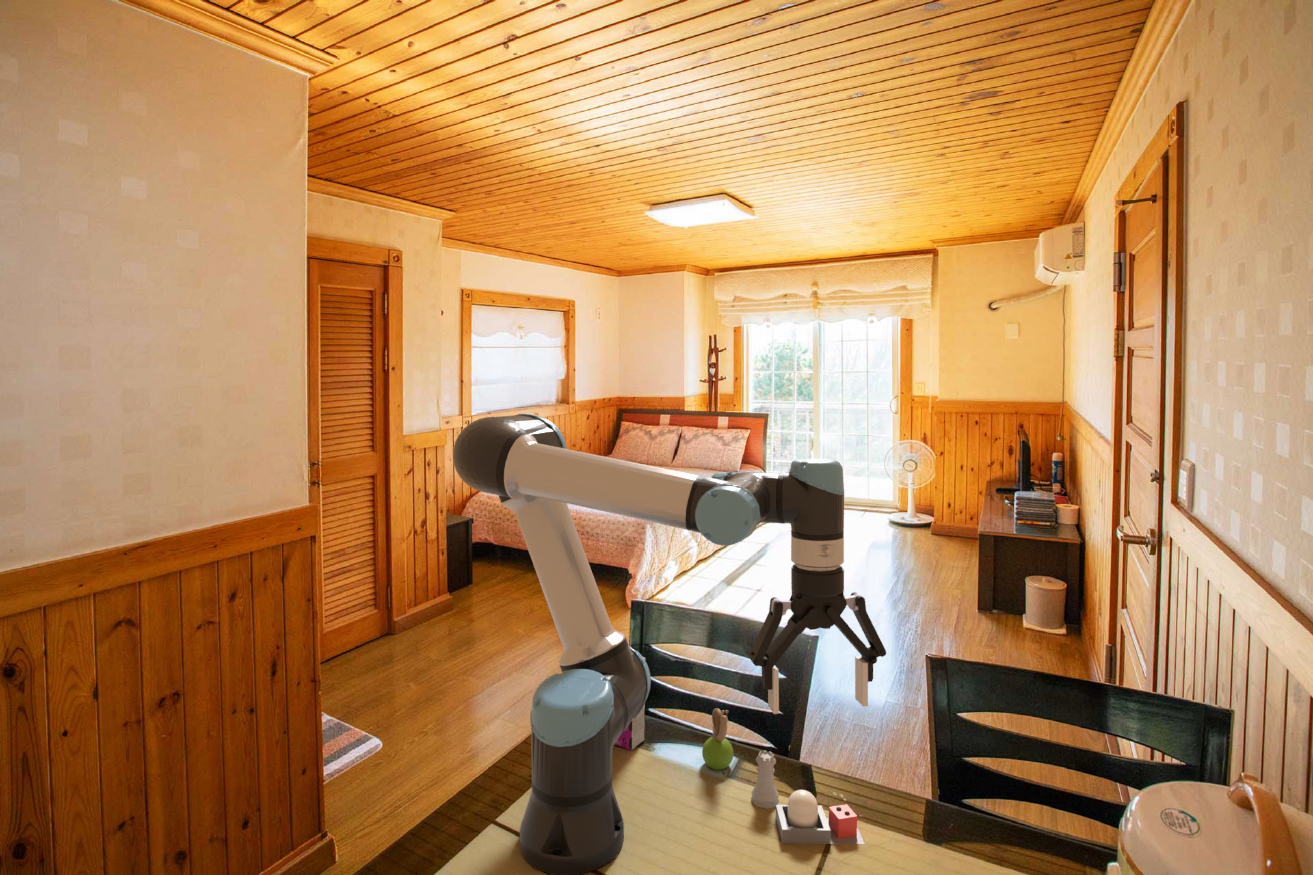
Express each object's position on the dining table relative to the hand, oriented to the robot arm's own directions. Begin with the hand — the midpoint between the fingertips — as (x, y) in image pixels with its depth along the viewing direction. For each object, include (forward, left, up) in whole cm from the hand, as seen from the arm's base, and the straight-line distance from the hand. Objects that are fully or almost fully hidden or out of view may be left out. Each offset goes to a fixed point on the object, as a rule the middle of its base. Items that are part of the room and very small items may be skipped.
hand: (817, 706), depth 102 cm
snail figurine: (-21, -1, -20) cm, 29 cm away
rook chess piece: (-10, -1, -20) cm, 22 cm away
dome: (-1, -2, -17) cm, 18 cm away
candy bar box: (-40, -11, -20) cm, 46 cm away
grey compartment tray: (+1, 0, -19) cm, 20 cm away
